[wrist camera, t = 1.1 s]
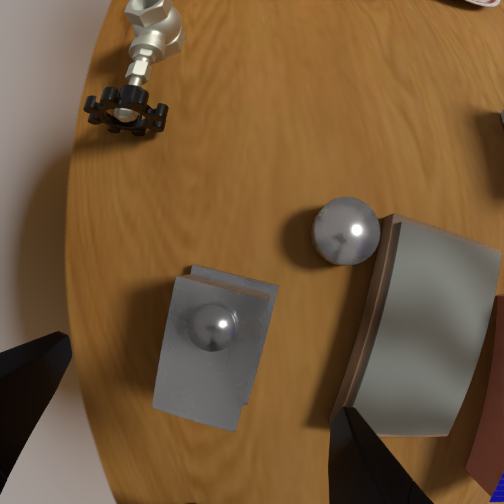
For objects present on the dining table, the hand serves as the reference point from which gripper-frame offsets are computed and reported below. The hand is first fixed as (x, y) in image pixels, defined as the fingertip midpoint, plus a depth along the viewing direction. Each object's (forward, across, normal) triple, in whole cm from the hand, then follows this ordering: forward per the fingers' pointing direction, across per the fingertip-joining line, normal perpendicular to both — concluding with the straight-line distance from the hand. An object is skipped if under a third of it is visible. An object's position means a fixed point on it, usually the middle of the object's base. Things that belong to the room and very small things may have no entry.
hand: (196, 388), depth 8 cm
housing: (+11, 0, +6) cm, 13 cm away
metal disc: (+14, -6, -2) cm, 16 cm away
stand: (+12, -15, +3) cm, 19 cm away
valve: (+20, +11, -11) cm, 25 cm away
